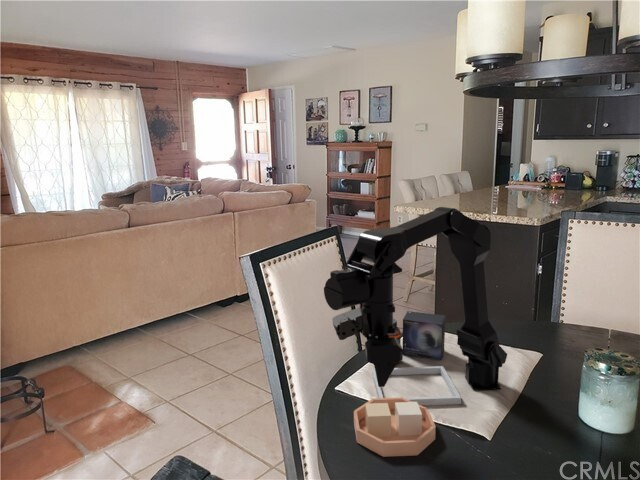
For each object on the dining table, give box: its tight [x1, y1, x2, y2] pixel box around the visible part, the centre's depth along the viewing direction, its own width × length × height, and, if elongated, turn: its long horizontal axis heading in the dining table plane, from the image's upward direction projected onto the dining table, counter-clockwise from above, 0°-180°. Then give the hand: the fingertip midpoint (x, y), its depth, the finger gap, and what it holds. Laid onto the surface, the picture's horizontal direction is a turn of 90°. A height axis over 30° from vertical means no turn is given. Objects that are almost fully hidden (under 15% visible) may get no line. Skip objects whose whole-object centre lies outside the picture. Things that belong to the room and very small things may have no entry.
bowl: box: [353, 397, 437, 458], centre depth 94 cm, size 15×15×3 cm
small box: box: [402, 310, 446, 361], centre depth 127 cm, size 11×6×10 cm, turn 68°
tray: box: [371, 365, 462, 406], centre depth 110 cm, size 18×15×2 cm
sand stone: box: [364, 403, 391, 437], centre depth 94 cm, size 4×4×4 cm
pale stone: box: [395, 402, 422, 436], centre depth 94 cm, size 4×4×4 cm
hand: (377, 374), depth 92 cm, fingers open, 9 cm apart
